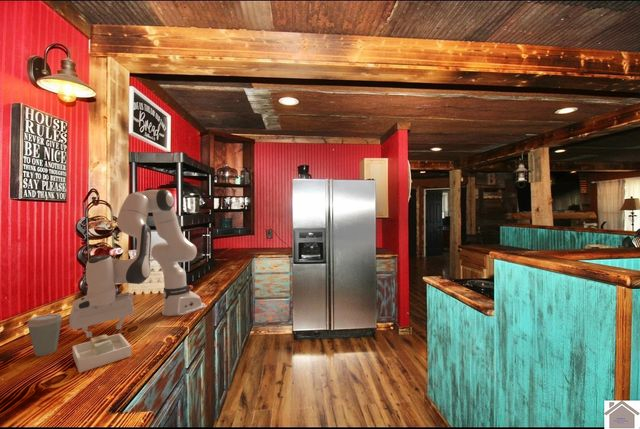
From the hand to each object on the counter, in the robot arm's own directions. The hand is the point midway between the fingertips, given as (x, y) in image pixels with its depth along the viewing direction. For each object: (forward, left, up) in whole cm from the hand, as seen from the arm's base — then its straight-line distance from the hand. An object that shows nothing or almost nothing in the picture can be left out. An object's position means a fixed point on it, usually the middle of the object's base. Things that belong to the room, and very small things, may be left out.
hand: (104, 332), depth 115 cm
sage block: (+1, +2, -9) cm, 9 cm away
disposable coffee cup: (+16, -23, -10) cm, 30 cm away
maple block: (+1, -6, -9) cm, 11 cm away
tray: (+1, -2, -10) cm, 10 cm away
